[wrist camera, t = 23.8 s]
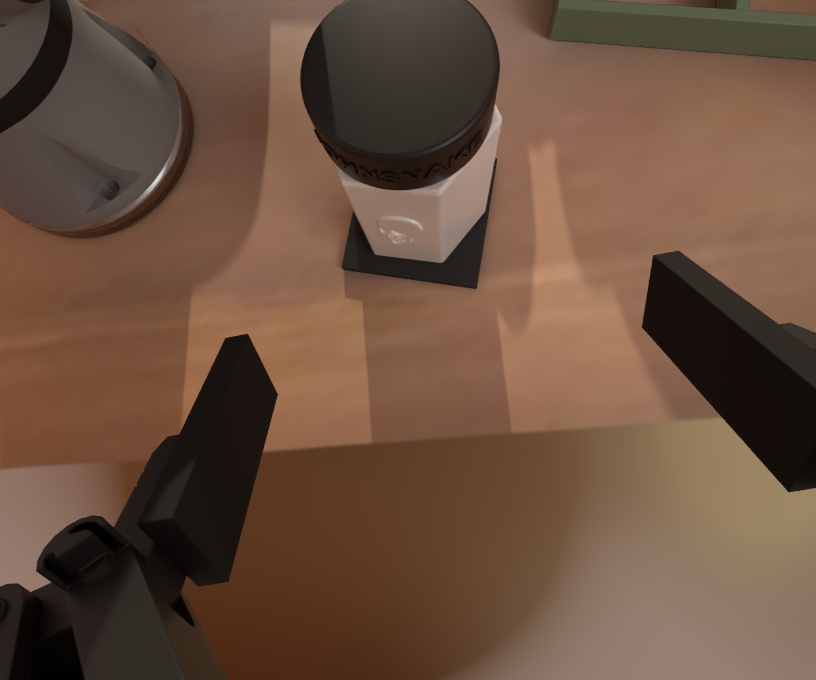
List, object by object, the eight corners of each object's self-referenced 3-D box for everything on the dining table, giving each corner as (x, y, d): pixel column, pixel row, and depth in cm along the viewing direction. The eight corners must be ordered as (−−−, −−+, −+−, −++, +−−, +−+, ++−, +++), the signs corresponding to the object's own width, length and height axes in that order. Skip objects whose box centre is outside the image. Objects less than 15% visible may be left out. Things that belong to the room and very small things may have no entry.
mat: (343, 269, 30) (341, 267, 29) (367, 148, 31) (366, 143, 30) (476, 289, 28) (476, 287, 28) (496, 162, 30) (497, 158, 29)
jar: (341, 254, 29) (269, 149, 17) (363, 143, 30) (309, -28, 18) (476, 271, 28) (497, 172, 16) (493, 155, 29) (523, -16, 17)
